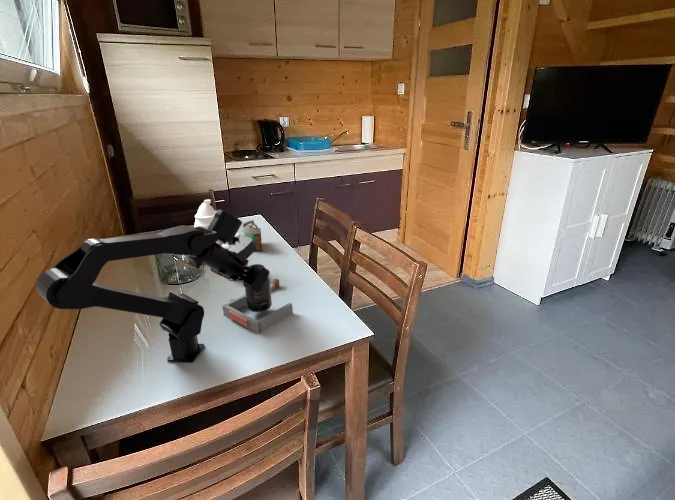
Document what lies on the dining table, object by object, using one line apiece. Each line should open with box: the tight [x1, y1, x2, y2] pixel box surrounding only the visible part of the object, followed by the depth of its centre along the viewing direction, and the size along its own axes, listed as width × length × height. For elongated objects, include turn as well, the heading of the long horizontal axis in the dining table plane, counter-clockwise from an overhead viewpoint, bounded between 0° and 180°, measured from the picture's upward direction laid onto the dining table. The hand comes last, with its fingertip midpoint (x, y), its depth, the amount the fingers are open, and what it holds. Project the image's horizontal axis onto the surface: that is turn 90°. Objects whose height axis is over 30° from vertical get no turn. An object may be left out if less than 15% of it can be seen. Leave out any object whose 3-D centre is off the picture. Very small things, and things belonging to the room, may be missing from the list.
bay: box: [222, 293, 294, 334], centre depth 105 cm, size 13×15×3 cm
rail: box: [229, 278, 281, 302], centre depth 114 cm, size 18×2×2 cm, turn 140°
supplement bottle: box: [244, 263, 273, 313], centre depth 103 cm, size 7×7×12 cm
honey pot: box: [193, 199, 221, 245], centre depth 158 cm, size 13×13×18 cm
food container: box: [241, 219, 263, 253], centre depth 150 cm, size 12×6×10 cm, turn 25°
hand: (258, 283), depth 103 cm, fingers closed on supplement bottle, 7 cm apart
